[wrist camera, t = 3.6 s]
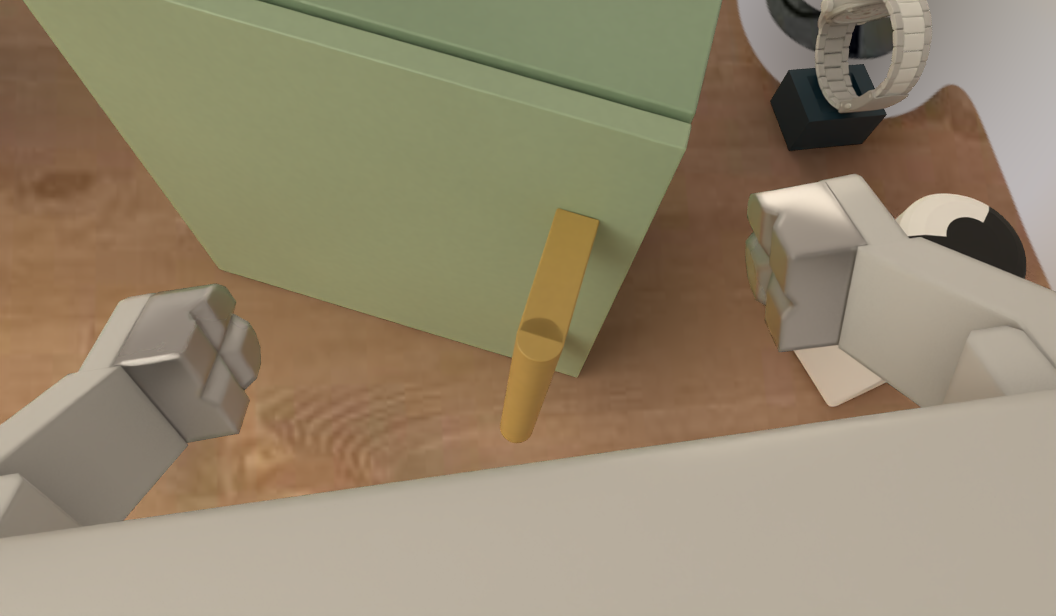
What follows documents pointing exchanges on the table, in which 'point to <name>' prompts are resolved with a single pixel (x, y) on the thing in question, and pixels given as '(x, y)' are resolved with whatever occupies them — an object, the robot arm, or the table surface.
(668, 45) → the cupboard
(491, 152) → the cupboard door
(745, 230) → the table surface
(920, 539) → the robot arm
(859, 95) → the watch
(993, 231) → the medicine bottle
